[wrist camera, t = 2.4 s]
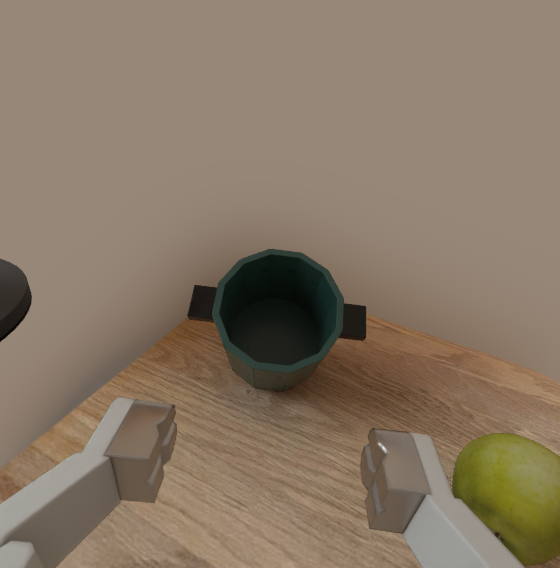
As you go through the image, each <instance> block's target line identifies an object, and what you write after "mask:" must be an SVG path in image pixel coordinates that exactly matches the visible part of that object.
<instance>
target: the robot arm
mask: <svg viewBox="0 0 560 568" xmlns="http://www.w3.org/2000/svg"><path fill="white" fill-rule="evenodd" d="M175 414H176V410H175V405H171V404H165V403H158V402H151V401H144V400H138V399H130V398H122V397H118V398H117V399H116V400H115V401H113V402H112V404H111V406H110V407H109V409H108V411H107V412H106V414H105V416H104V417H103V419H102V420H101V422H100V424H99V425H98V427H97V429H96V430H95V432H94V433H93V435H92V437H91V438H90V440H89V442H88V443H87V445H86V446H85V448H84V450H83V451H82V453H74V454H73V455H71V456H70V457H68V458H67V459H65V460H64V461H63V462H61V463H60V464H58V465H57V466H55V467H54V468H52V469H51V470H49V471H48V472H47V473H45V474H44V475H42V476H41V477H39V478H38V479H36V480H35V481H33V482H32V483H31V484H29V485H28V486H26V487H25V488H23V489H22V490H20V491H19V492H17V493H16V494H15V495H13V496H12V497H10V498H9V499H7V500H6V501H4V502H3V503H1V504H0V568H56V567H57V566H58V565H59V564H60V563H61V562H62V561H63V560H64V559H65V558H66V557H67V556H68V555H69V554H70V553H71V552H72V551H73V550H74V549H75V548H76V547H77V546H78V545H79V544H80V543H81V542H82V541H83V540H84V539H85V538H86V537H87V536H88V535H89V534H90V533H91V532H92V531H93V530H94V529H95V528H96V527H97V526H98V525H99V524H100V523H101V522H102V521H103V520H104V519H105V518H106V517H107V516H108V515H109V514H110V513H111V511H112V510H113V509H114V508H115V507H116V506H117V505H118V504H119V503H120V502H121V501H120V500H126V501H137V502H148V503H155V500H156V497H157V495H158V492H159V489H160V486H161V484H162V481H163V478H164V471H163V466H164V465H165V464H166V463H167V462H168V461H169V460H170V459H171V456H172V453H173V450H174V446H175V441H176V435H177V424H176V423H175V422H174V421H173V419H174V417H175ZM368 440H369V444H368V445H366V446H364V448H363V451H362V454H361V463H360V467H361V478H362V484H363V485H364V486H365V488H366V489H367V490H368V495H367V497H366V499H365V505H366V511H367V517H368V524H369V529H374V530H380V531H387V532H394V533H400V534H403V535H402V536H403V538H404V539H405V541H406V542H407V544H408V546H409V547H410V549H411V550H412V552H413V553H414V555H415V556H416V558H417V560H418V561H419V563H420V564H421V566H422V567H423V568H525V567H524V566H523V565H522V564H521V563H520V562H519V561H518V560H517V558H516V557H515V556H514V555H513V554H512V553H511V552H510V551H509V550H508V549H507V548H506V547H505V546H504V545H503V544H502V543H501V541H500V540H499V539H498V538H497V537H496V536H495V535H494V534H493V533H492V532H491V531H490V530H489V529H488V528H487V527H486V526H485V525H484V523H483V522H482V521H481V520H480V519H479V518H478V517H477V516H476V515H475V514H474V513H473V512H472V511H471V510H470V509H469V508H468V506H467V505H466V504H465V503H464V502H463V501H462V500H461V499H457V498H454V495H453V493H452V490H451V487H450V485H449V482H448V480H447V477H446V474H445V472H444V469H443V467H442V464H441V461H440V459H439V456H438V453H437V451H436V448H435V446H434V443H433V440H432V438H431V437H430V436H429V435H426V434H418V433H408V432H404V431H395V430H385V429H376V428H372V429H371V430H370V432H369V435H368Z"/></svg>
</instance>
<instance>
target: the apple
mask: <svg viewBox="0 0 560 568" xmlns="http://www.w3.org/2000/svg"><path fill="white" fill-rule="evenodd" d="M452 490H453V495H454V498H457V499H461V500H462V501H463V502H464V503H465V504H466V505H467V506H468V508H469V509H470V510H471V511H472V512H473V513H474V514H475V515H476V516H477V517H478V518H479V519H480V520H481V521H482V522H483V523H484V525H485V526H486V527H487V528H488V529H489V530H490V531H491V532H492V533H493V534H494V535H495V536H496V537H497V538H498V539H499V540H500V541H501V543H502V544H503V545H504V546H505V547H506V548H507V549H508V550H509V551H510V552H511V553H512V554H513V555H514V556H515V557H516V558H517V560H518V561H519V562H520V563H521V564H522V565H537V564H541V563H544V562H547V561H549V560H551V559H553V558H554V557H556V556H558V555H559V554H560V457H559V456H558V455H557V454H555V453H554V452H553V451H551V450H550V449H548V448H546V447H545V446H543V445H541V444H539V443H537V442H535V441H533V440H530V439H528V438H525V437H522V436H519V435H515V434H506V433H494V434H489V435H485V436H482V437H479V438H477V439H475V440H473V441H472V442H470V443H469V444H468V445H467V446H466V447H465V448H464V449H463V450H462V451H461V453H460V454H459V456H458V458H457V461H456V464H455V468H454V474H453V486H452Z"/></svg>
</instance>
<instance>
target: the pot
mask: <svg viewBox="0 0 560 568" xmlns="http://www.w3.org/2000/svg"><path fill="white" fill-rule="evenodd" d="M187 316H188V318H189V319H190V320H198V321H206V322H214V323H215V324H216V327H217V330H218V332H219V335H220V338H221V340H222V343H223V346H224V348H225V351H226V353H227V356H228V359H229V361H230V364H231V366H232V369H233V371H234V372H235V373H236V374H237V375H239V376H240V377H241V378H243V379H244V380H245V381H246V382H248V383H249V384H250V385H251V386H253V387H254V388H258V389H267V390H275V391H284V390H286V389H288V388H290V387H293V386H295V385H297V384H299V383H302V382H304V381H306V380H307V379H308V378H309V376H310V375H311V374H312V373H313V371H314V370H315V369H316V368H317V366H318V365H319V364H320V363H321V361H322V360H323V359H324V358H325V356H326V355H327V353H328V352H329V350H330V349H331V347H332V346H333V344H334V343H335V341H336V340H337V339H338V338H344V339H352V340H360V341H363V340H364V339H365V338H366V306H360V305H352V304H344V299H343V296H342V294H341V292H340V290H339V289H338V287H337V285H336V283H335V281H334V280H333V278H332V276H331V274H330V272H329V271H328V270H327V269H326V268H324V267H323V266H321V265H320V264H318V263H317V262H315V261H314V260H312V259H311V258H309V257H307V256H306V255H304V254H303V253H300V252H291V251H284V250H276V249H268V250H265V251H263V252H259V253H257V254H254V255H251V256H248V257H245V258H243V259H241V260H239V261H238V262H237V263H236V264H235V265H234V266H233V267H232V269H231V270H230V271H229V272H228V273H227V274H226V275H225V276H224V277H223V278H222V279H221V281H220V282H219V283H218V287H217V288H215V287H207V286H199V285H195V286H194V290H193V294H192V299H191V303H190V308H189V311H188V315H187Z"/></svg>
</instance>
